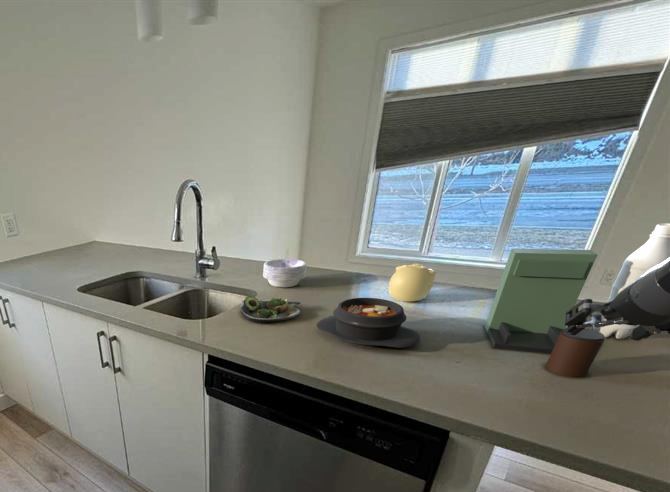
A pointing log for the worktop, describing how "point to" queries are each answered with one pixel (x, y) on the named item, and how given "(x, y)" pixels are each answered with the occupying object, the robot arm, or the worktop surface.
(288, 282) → the paper bowls
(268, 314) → the salad plate
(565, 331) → the brown cylinder canister
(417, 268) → the pale yellow rounded lump
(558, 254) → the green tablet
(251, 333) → the worktop surface
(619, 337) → the water bottle
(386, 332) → the casserole
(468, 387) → the worktop surface
